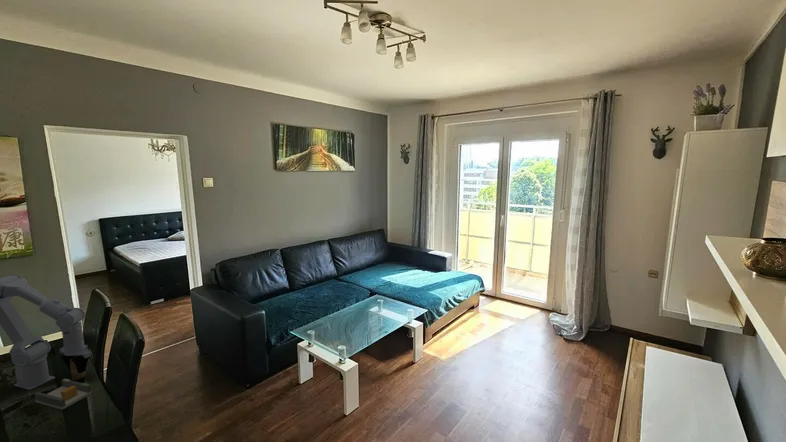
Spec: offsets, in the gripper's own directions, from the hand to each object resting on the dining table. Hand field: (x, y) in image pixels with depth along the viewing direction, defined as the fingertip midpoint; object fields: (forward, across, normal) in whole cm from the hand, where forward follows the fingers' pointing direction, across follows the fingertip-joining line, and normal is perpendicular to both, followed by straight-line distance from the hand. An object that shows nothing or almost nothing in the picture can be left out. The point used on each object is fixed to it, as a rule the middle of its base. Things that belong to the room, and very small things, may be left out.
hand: (78, 371), depth 132 cm
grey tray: (+3, -8, +10) cm, 13 cm away
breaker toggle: (+2, -11, +9) cm, 15 cm away
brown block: (+3, 0, 0) cm, 3 cm away
